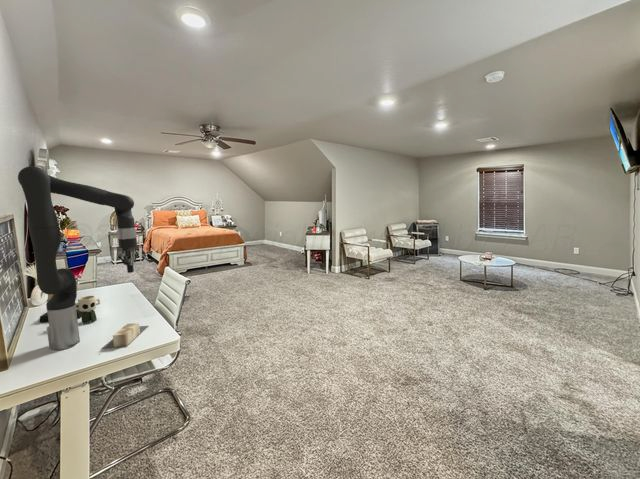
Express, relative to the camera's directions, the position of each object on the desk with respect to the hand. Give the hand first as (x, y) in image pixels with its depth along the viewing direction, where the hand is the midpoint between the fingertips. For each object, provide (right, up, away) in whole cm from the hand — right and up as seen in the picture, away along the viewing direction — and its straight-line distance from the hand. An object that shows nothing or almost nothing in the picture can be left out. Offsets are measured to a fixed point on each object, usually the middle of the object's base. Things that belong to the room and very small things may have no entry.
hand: (130, 272), depth 145 cm
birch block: (+7, -25, -9) cm, 27 cm away
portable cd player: (-46, -26, +18) cm, 56 cm away
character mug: (-27, -27, +8) cm, 38 cm away
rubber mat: (+5, -29, -11) cm, 31 cm away
